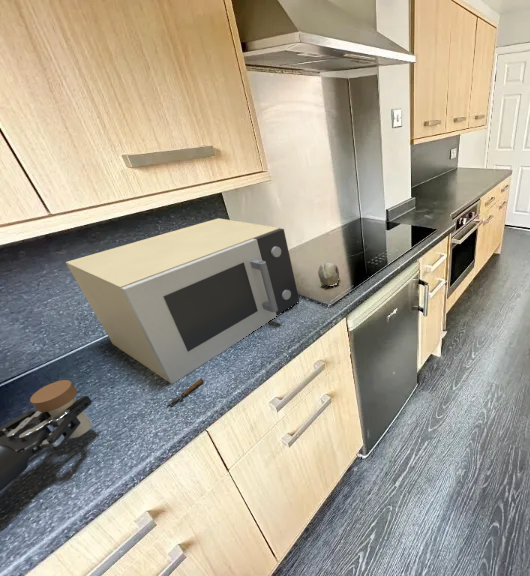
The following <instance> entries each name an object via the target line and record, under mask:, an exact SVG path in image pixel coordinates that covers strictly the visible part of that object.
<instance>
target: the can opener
mask: <svg viewBox="0 0 530 576" xmlns="http://www.w3.org/2000/svg"><path fill="white" fill-rule="evenodd" d="M203 383H204V380H203V378H199V379H198V380H197V381H195V382H194V383H193V384H192V385H190V386H189V387H187V389H185V390H184V391H183V392H181V394H180V395H179V396H176V397H174V398H173V399H172V400H170V401H169V402H168V403H167V404H166V406H165V407H166V408H167V407H168V406H170V407H173V406H174V405H175V404H176V402H180V401H182V399H183V398H184V397H186V396H187V395H188V394H190V393H191V392H192V391H194V390H195V389H197V388H198V387H199V386H201V385H202V384H203Z"/></svg>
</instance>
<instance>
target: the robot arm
mask: <svg viewBox="0 0 530 576" xmlns="http://www.w3.org/2000/svg"><path fill="white" fill-rule="evenodd" d="M92 402H93V401H92V400H91V398H90V396H88V395H81V396H80V397H79V398H78V399H77V400H76V402H75V403H73V404H72V405H71V406H70V407H68V408H67V409H66V410H65V411H64V412H62V413H60V414H59V415H57V416H56V417H54V418H52V416H51V415H50V414H49V413H48V412H39V411H38V410H36V411H35V410H34V409H30V410H28V411H27V412H24V413H23V414H21V415H19V416H17V417H15V418H14V419H11V420H10V421H8V422H7V423H5V424H4V425H2V426H0V492H2V491H3V490H4V489H5V488H6V487H7V486H8V485H10V484H11V483H12V482H13V481H14V480H15V479H16V478H18V477H19V476H20V475H21V474H22V473H24V471H26V470H27V468H28V463H29V460H30V459H31V458H32V457H34V456H35V455H37V454H39V453H41V452H42V451H43V450H45V449H49V448H52V449H53V450H54V451H57V450H60V449H61V448H63V446H64V445H65V444H66V443H67V441H68V440H69V439H70V438H69V437H70V436H71V435H72V434H73V432H74V431H75V430H76V428H77V427H78V426H79V425H80V423H81V422H80V421H79V420H78V418H77V416H78V415H79V414H80V413H81V412H83V411H84V412H85V410H86V409H88V408H89V407H90V406H91V405H92ZM63 418H64V420H63V421H62V422H61V423H60V424H59V425H58V421H60V420H61V419H63ZM68 425H70V426H68ZM48 426H50V427H51V429H52V430H51V429H50V428H49V427H48Z"/></svg>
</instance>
